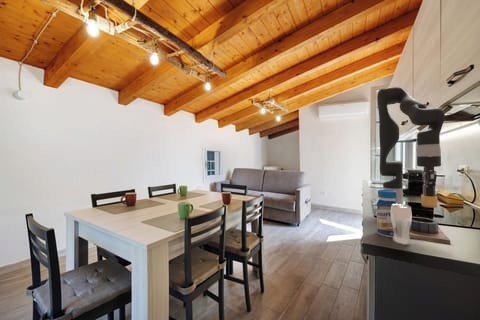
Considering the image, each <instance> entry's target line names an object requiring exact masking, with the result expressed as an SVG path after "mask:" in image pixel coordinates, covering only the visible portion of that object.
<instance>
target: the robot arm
mask: <svg viewBox="0 0 480 320" xmlns="http://www.w3.org/2000/svg"><path fill="white" fill-rule="evenodd" d="M376 95H377V97H376V101H377V108H378V109H377V111H378V120H379V122H378V124H379V129H378V132H379V148H380V149H379V153H380V154H379V173H380V175H381V176H382V177H395V178H393V179H391V180H388V181H385V182H382V183H383V184H382V190H393V191H396V199H395V201H396V202H397V203H398V204H401V205H404V192H403V191H404V190H403V189H404V188H403V172H404V171H403V162H402V161H401V160H387V158H388V156H389V154H390V153H391V151H392V149H394V148H395V146H396V145H397V143H398V142H399V139H400V127H399V124H398V123H397V122H396V120H395V119H394V118H393V117H392V116H391V115H390V113H389V109H388V105H389V106H391V105H395V104H399V110H400V111H401V112H402V113H403V114H405V116H406V117H408V118H409V120H410V122H411V124H413V125H414V126H419V127H421V126H428V127H427V129H426V130H422V131H419V132H417V135H416V166H417V167H423V170H421V175H422V185H426V195H427V196H434V187H435V188H436V185H437V177H438V175H437V171H436V170H435V168H436V167H437V168H438V167H441V166H442V153H441V152H442V150H441V142H440V141H441V139H440V136H441V130H442V127H443V126H444V122H445V119H446V113H445V112H444V110H443V109H442V108H439V107H433V108H427V106H426V105H425V104H424V103H422V102H420V101H418V100H416V99H414V97H412V96H411V95H410V94H409V93H408V91H406V90H405V89H404V88H402V87H401V86H390V87H386V88H381V89H379V90H378V92H377V94H376Z"/></svg>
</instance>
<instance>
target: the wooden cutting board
mask: <svg viewBox="0 0 480 320" xmlns="http://www.w3.org/2000/svg"><path fill="white" fill-rule="evenodd" d="M410 239H415V240H416V239H417V240H422V241H428V242H436V243H441V244H449V245H450V244H451V239H450V238H449V237H448V236H447V235H446V234H445V233H444V231H442V229H441V228H440V227H439V226H438V233H437V234H426V233H419V232H415V231H412V230H410Z"/></svg>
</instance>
